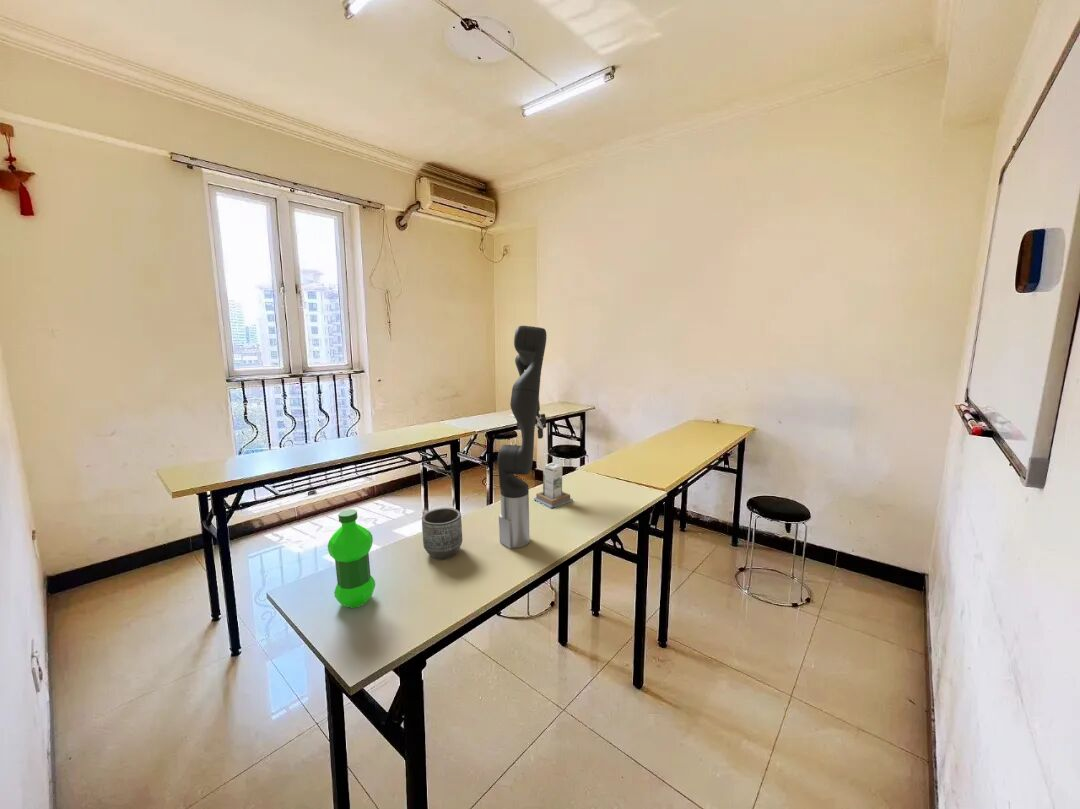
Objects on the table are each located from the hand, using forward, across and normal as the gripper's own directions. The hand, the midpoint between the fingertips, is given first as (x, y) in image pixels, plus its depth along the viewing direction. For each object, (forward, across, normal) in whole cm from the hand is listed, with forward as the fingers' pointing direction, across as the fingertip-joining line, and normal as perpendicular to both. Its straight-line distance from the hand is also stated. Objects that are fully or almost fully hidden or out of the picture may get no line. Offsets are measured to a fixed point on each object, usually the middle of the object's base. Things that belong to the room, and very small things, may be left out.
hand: (532, 439), depth 177 cm
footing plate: (+26, +5, -4) cm, 27 cm away
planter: (+34, -49, -9) cm, 60 cm away
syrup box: (+25, +5, -4) cm, 26 cm away
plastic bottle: (+38, -78, -14) cm, 88 cm away
